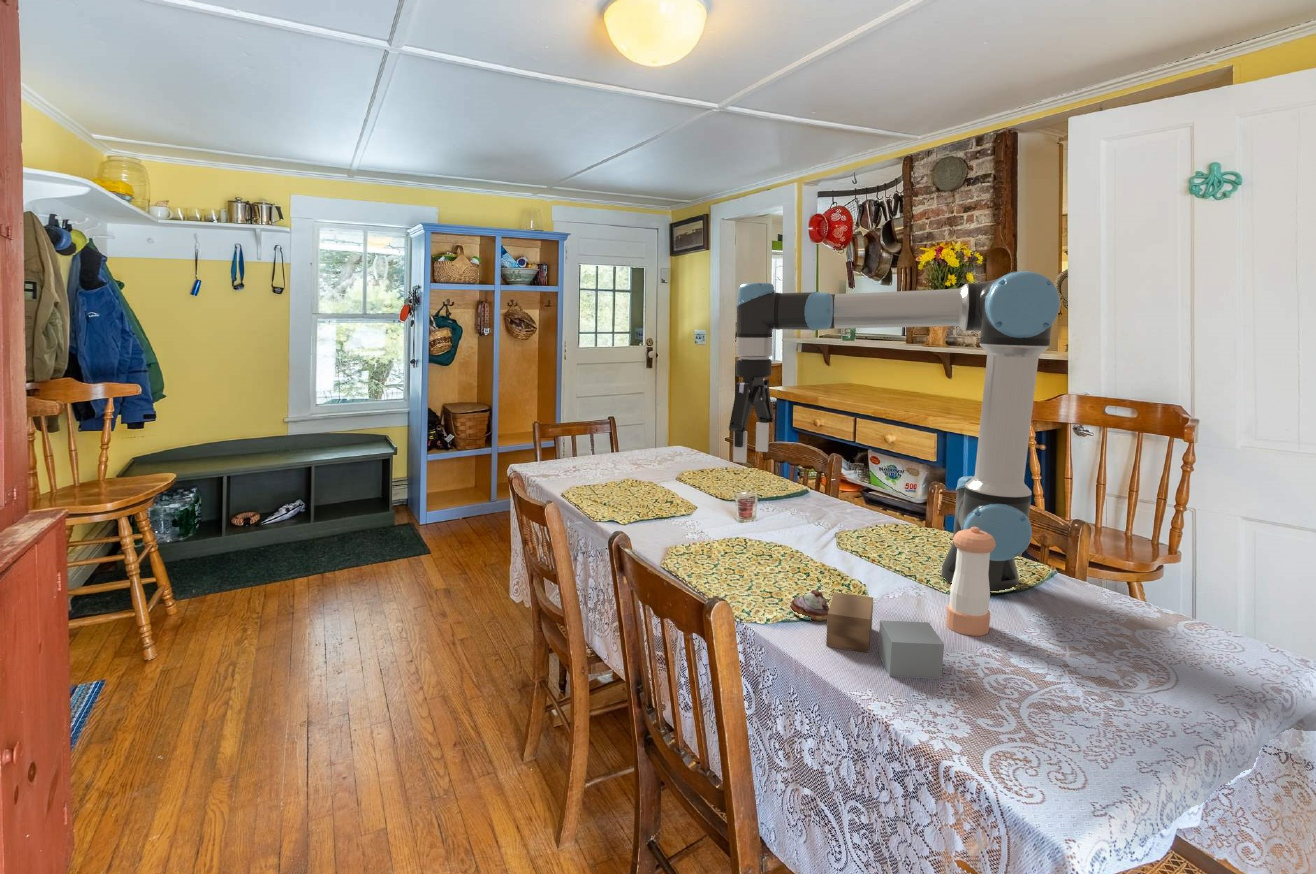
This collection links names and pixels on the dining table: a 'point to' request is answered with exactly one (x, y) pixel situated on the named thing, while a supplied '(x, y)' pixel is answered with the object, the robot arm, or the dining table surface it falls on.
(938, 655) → the slate block
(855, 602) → the walnut block
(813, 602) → the pastry
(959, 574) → the pepper shaker
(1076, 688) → the dining table surface
